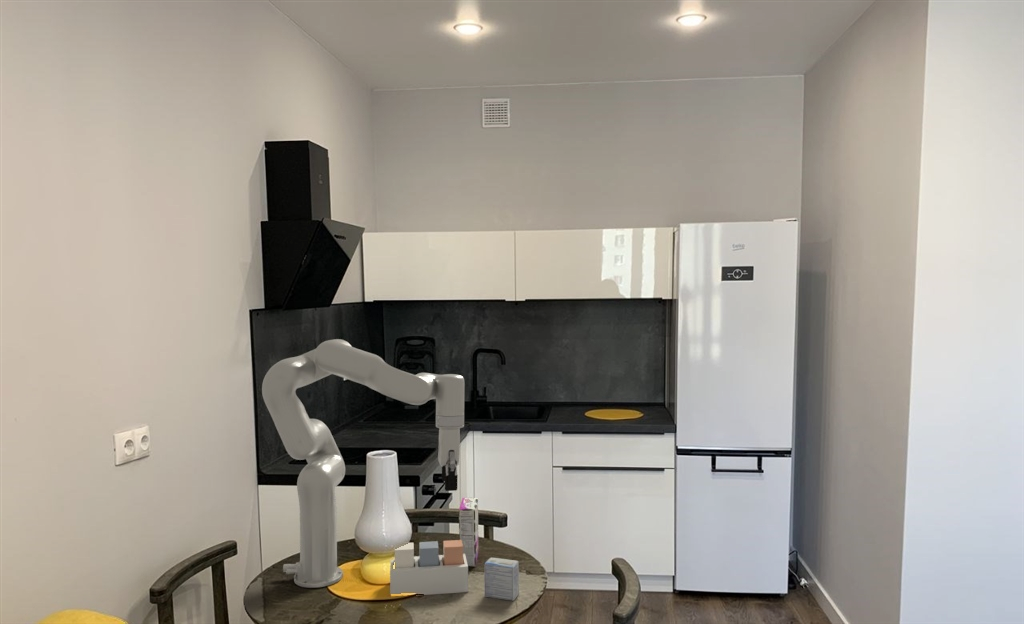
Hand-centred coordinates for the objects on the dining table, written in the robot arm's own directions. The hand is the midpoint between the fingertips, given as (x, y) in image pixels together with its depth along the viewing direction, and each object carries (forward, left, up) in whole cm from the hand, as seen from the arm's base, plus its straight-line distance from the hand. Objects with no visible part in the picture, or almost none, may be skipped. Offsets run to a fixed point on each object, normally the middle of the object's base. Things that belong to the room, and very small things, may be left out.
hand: (449, 485), depth 176 cm
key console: (-6, -3, -25) cm, 26 cm away
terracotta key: (+1, -3, -21) cm, 21 cm away
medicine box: (+12, -11, -26) cm, 31 cm away
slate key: (-6, -3, -21) cm, 22 cm away
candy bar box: (+6, +13, -26) cm, 30 cm away
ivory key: (-12, -3, -21) cm, 24 cm away
